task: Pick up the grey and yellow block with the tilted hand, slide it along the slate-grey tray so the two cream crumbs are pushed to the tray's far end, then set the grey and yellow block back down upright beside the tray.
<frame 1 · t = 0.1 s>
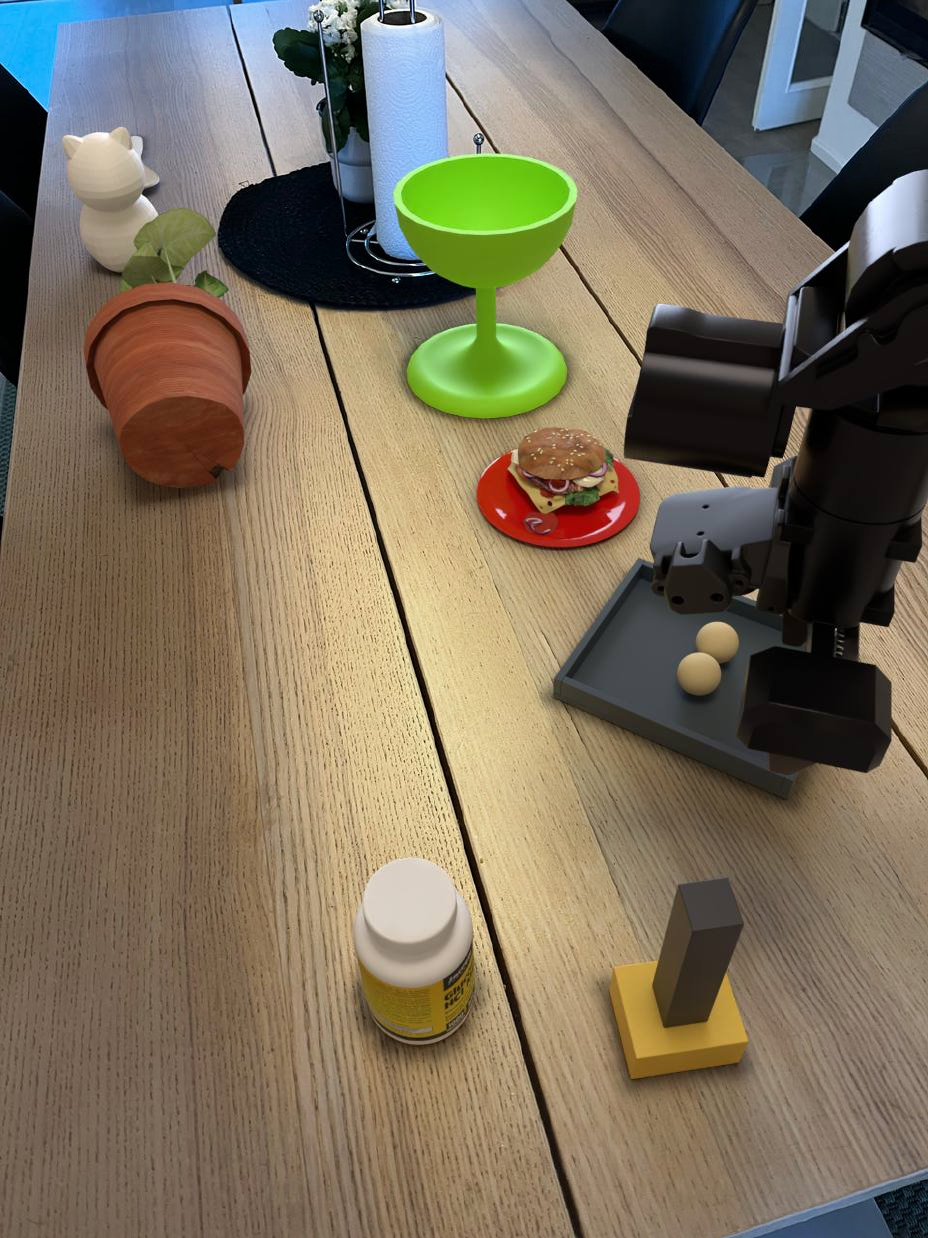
hand: (785, 704, 56), 12 cm above the table, tool pointing down, fingers open, 9 cm apart
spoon: (140, 167, 137), on the table
grey and yellow block: (672, 1025, 57), on the table
potted plant: (179, 396, 100), on the table
hamburger: (557, 497, 88), on the table
cat figurine: (129, 257, 120), on the table
crumb a: (699, 674, 71), point 2 cm above the table, touching tray
tray: (703, 677, 74), on the table
crumb b: (717, 642, 73), point 2 cm above the table, touching tray
wineglass: (486, 372, 102), on the table
pill bottle: (421, 994, 58), on the table
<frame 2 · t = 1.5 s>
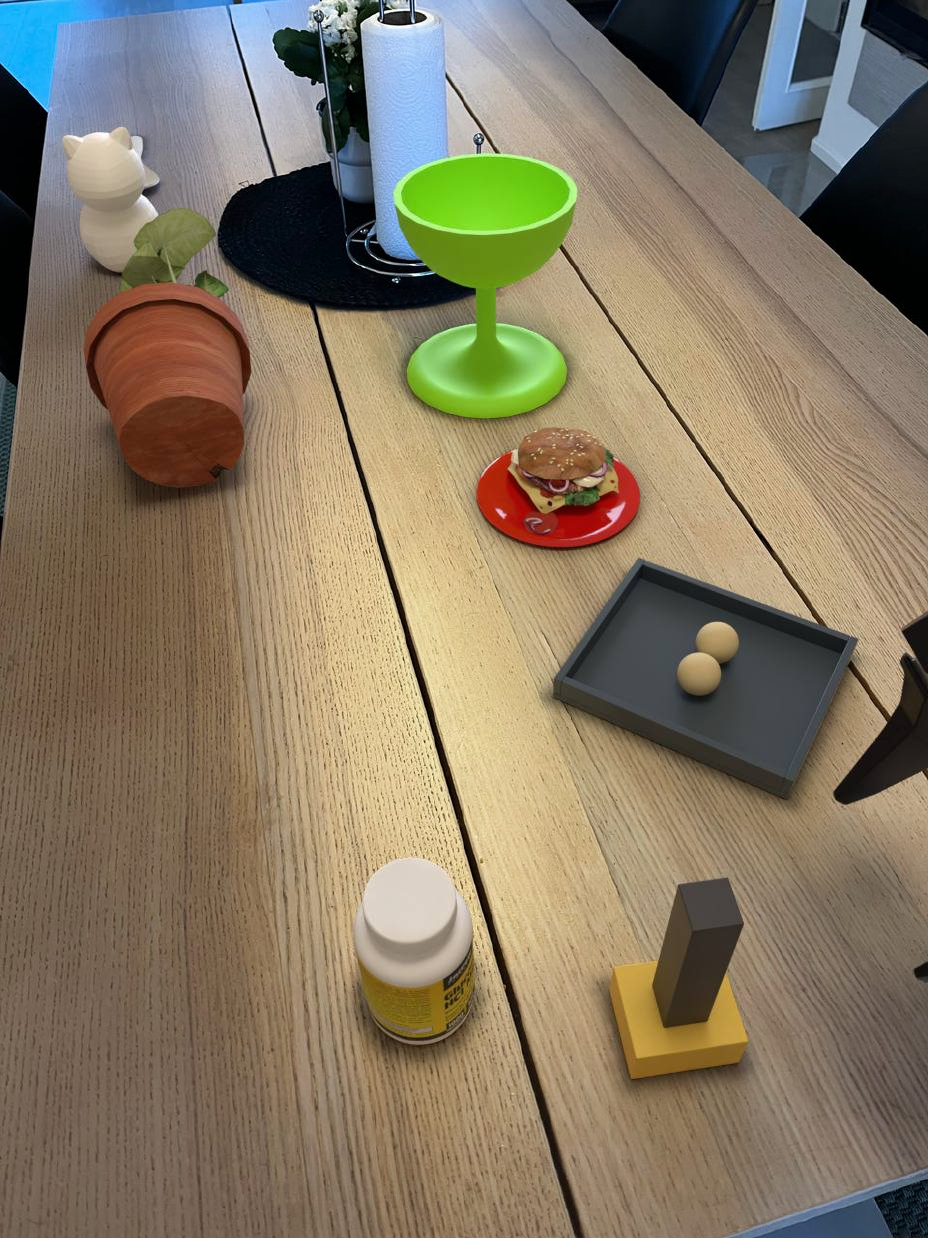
hand: (875, 882, 48), 13 cm above the table, tool tilted 45°, fingers open, 9 cm apart
nothing on the table moved.
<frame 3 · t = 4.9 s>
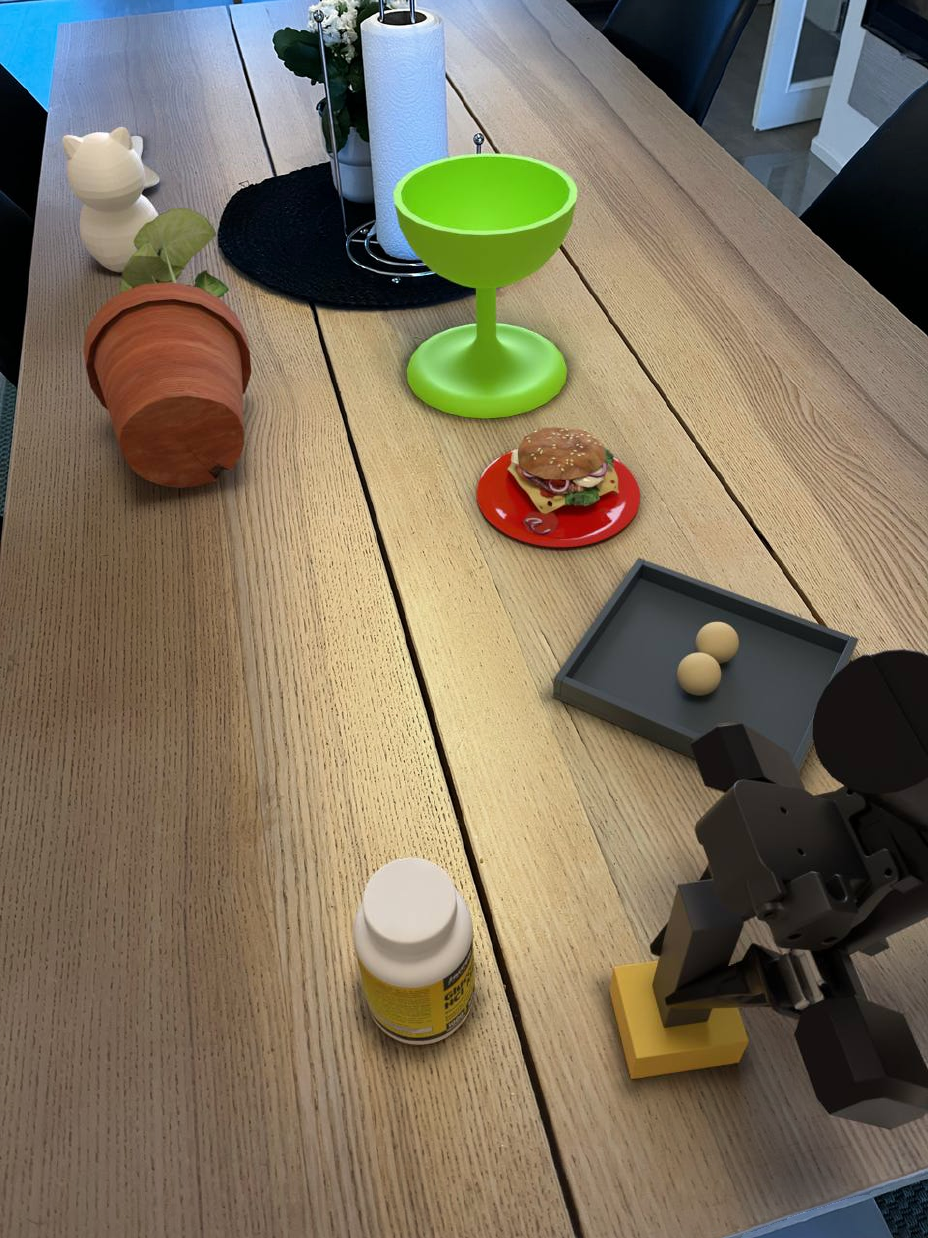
hand: (661, 977, 52), 7 cm above the table, tool tilted 45°, fingers closed on grey and yellow block, 2 cm apart
grey and yellow block: (672, 1025, 57), on the table, touching gripper
everything else where it was.
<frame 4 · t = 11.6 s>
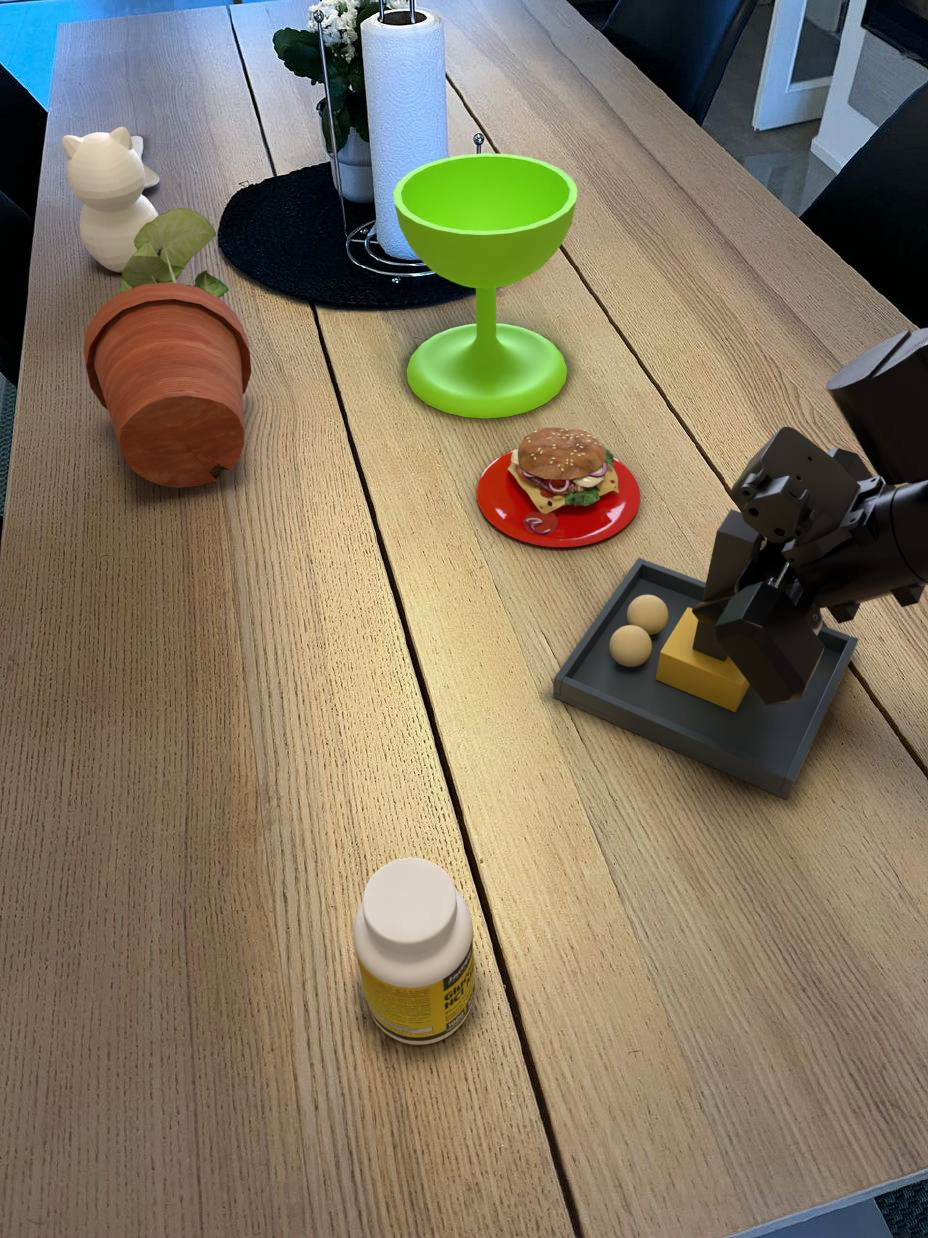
hand: (703, 601, 69), 7 cm above the table, tool tilted 45°, fingers closed on grey and yellow block, 2 cm apart
grey and yellow block: (708, 672, 73), point 1 cm above the table, touching gripper
crumb a: (630, 646, 73), point 2 cm above the table, tilted 162°, touching tray
crumb b: (647, 615, 75), point 2 cm above the table, tilted 154°, touching tray
everything else where it was.
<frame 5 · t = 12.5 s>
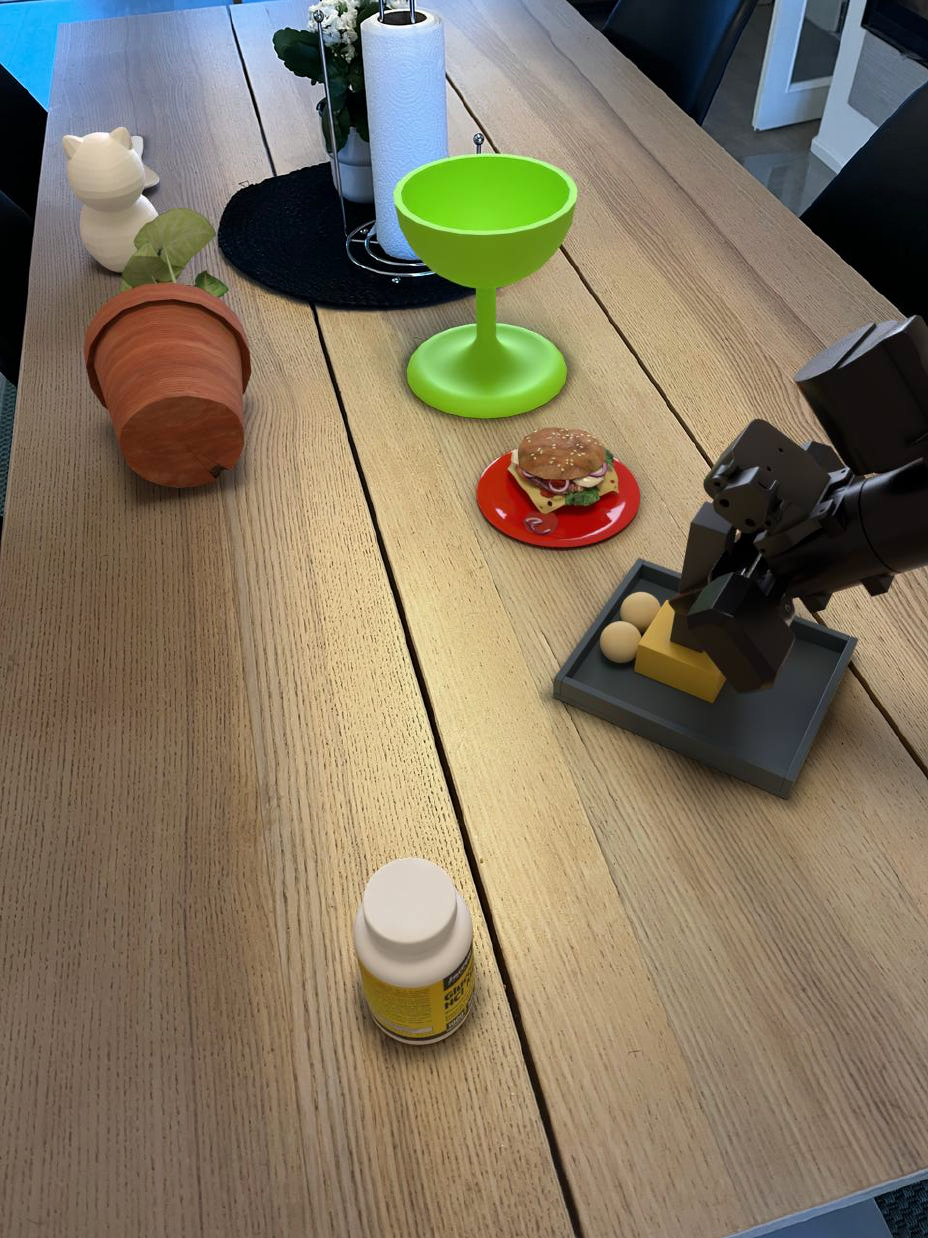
hand: (680, 593, 70), 7 cm above the table, tool tilted 45°, fingers closed on grey and yellow block, 2 cm apart
grey and yellow block: (686, 664, 74), point 1 cm above the table, touching gripper
crumb a: (620, 642, 73), point 2 cm above the table, tilted 133°, touching tray
crumb b: (640, 612, 75), point 2 cm above the table, tilted 133°, touching tray
everything else where it was.
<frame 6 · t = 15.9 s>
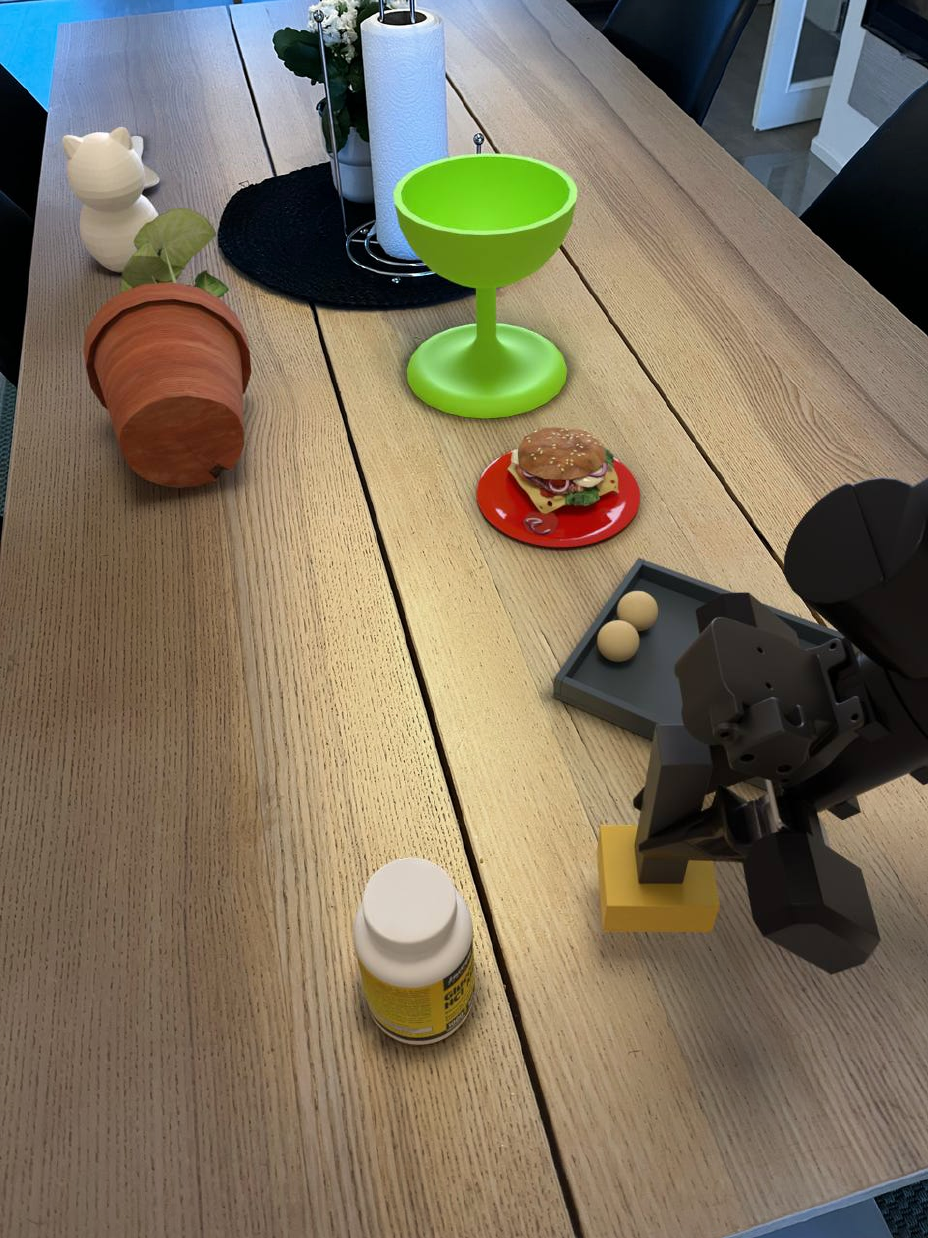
hand: (640, 829, 53), 10 cm above the table, tool tilted 45°, fingers closed on grey and yellow block, 2 cm apart
grey and yellow block: (652, 891, 58), point 4 cm above the table, touching gripper
crumb a: (618, 641, 74), point 2 cm above the table, tilted 125°, touching tray
crumb b: (637, 611, 76), point 2 cm above the table, tilted 123°, touching tray
everything else where it was.
when the fingers open (7 cm above the table, at t = 18.5 s): grey and yellow block stays where it is, on the table.
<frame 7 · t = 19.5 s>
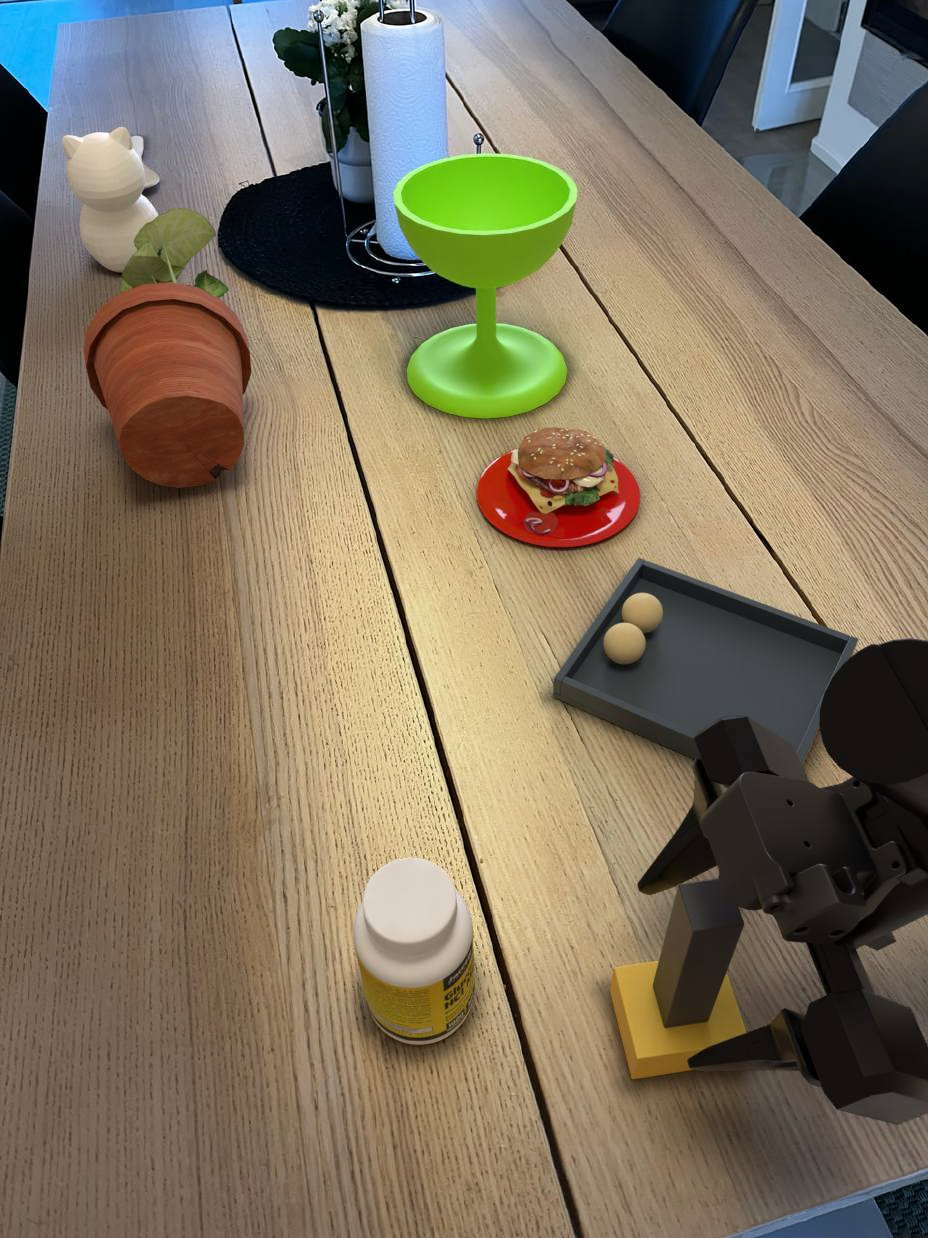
hand: (666, 973, 51), 7 cm above the table, tool tilted 45°, fingers open, 9 cm apart
grey and yellow block: (673, 1025, 57), on the table
crumb a: (624, 643, 73), point 2 cm above the table, tilted 143°, touching tray
crumb b: (642, 613, 75), point 2 cm above the table, tilted 138°, touching tray
everything else where it was.
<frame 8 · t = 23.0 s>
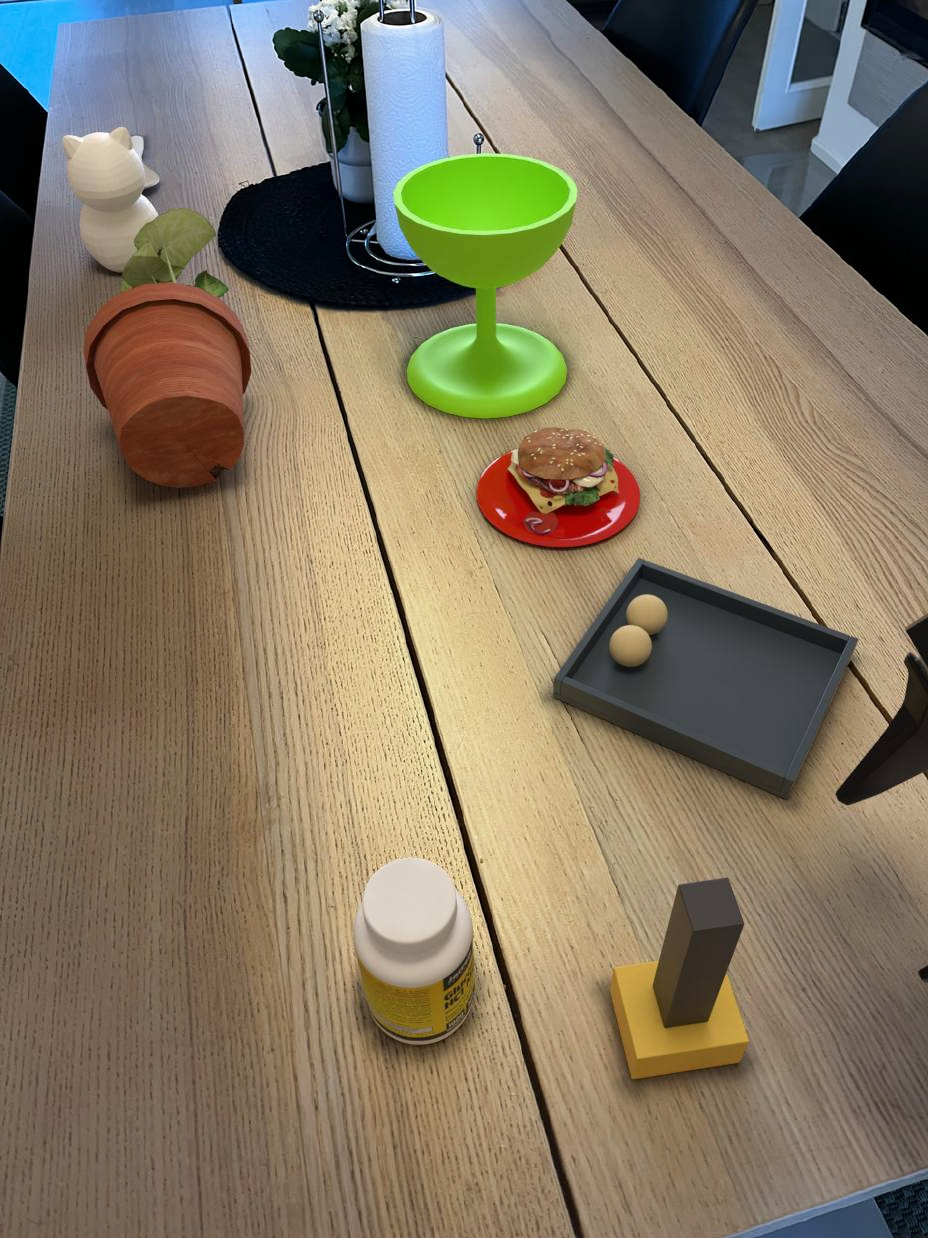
hand: (879, 883, 47), 14 cm above the table, tool tilted 45°, fingers open, 9 cm apart
crumb a: (630, 646, 73), point 2 cm above the table, tilted 162°, touching tray
crumb b: (646, 614, 75), point 2 cm above the table, tilted 152°, touching tray
everything else where it was.
at the end: crumb a inside the target area in the tray (1.5 cm from its centre), point 2.1 cm above the tray's base; crumb b inside the target area in the tray (2.6 cm from its centre), point 2.1 cm above the tray's base; grey and yellow block tilted 0° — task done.
